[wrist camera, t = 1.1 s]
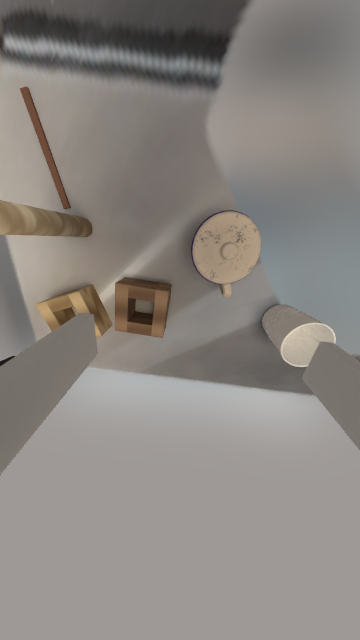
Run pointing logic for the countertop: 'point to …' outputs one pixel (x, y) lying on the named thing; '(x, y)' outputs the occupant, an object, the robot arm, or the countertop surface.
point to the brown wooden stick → (44, 145)
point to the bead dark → (139, 321)
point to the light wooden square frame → (83, 301)
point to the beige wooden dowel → (40, 222)
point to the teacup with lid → (226, 248)
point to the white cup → (295, 334)
